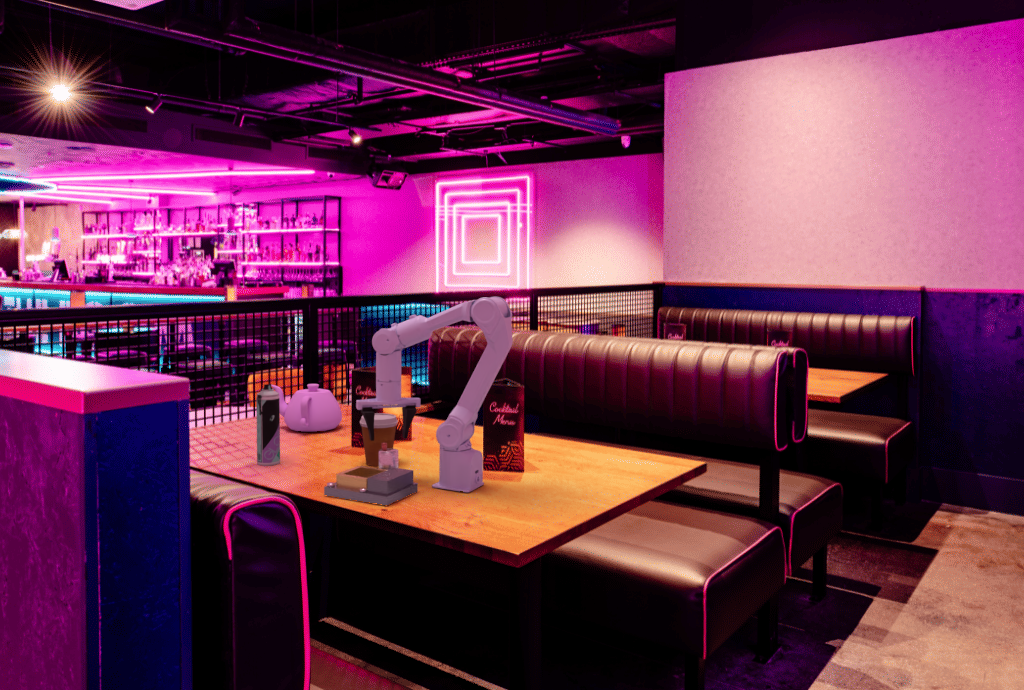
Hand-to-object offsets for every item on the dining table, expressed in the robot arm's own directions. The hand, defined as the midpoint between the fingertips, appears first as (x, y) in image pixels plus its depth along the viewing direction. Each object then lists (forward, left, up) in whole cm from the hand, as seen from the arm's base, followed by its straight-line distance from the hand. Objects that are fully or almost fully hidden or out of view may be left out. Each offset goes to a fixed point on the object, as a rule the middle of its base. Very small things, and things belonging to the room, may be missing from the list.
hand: (388, 438), depth 176 cm
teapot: (+55, -37, -10) cm, 67 cm away
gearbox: (-3, +11, -10) cm, 15 cm away
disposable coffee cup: (+11, -12, -10) cm, 19 cm away
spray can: (+35, +1, -10) cm, 36 cm away
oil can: (0, 0, -10) cm, 10 cm away
